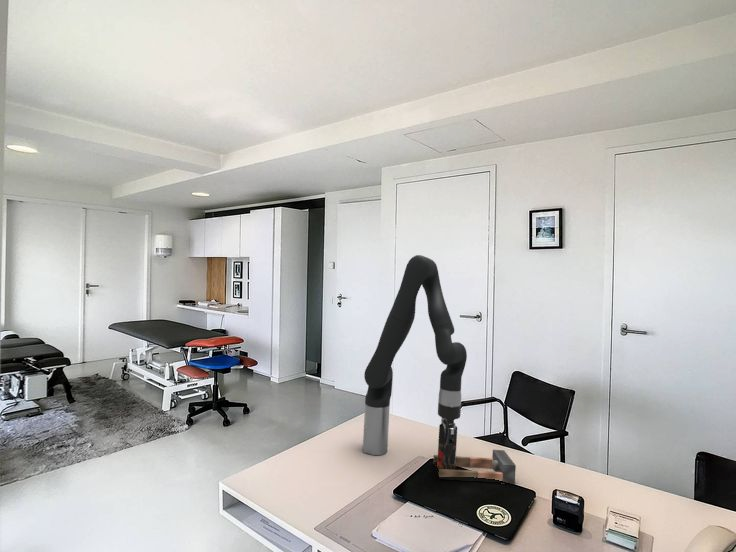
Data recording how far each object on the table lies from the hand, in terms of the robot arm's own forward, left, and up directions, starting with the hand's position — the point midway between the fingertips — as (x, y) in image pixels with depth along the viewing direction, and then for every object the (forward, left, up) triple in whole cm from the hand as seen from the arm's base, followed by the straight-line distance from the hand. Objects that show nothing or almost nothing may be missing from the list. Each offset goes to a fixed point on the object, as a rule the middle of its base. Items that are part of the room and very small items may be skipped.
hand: (446, 451), depth 133 cm
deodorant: (0, 0, -7) cm, 7 cm away
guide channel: (+8, 0, -7) cm, 11 cm away
